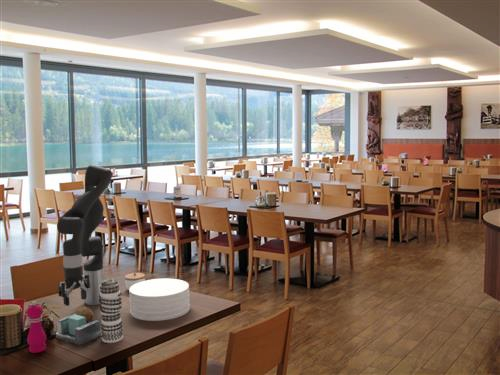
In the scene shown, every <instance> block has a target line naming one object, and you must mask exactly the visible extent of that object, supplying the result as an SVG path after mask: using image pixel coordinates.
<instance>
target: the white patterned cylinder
mask: <svg viewBox="0 0 500 375" xmlns="http://www.w3.org/2000/svg"><path fill="white" fill-rule="evenodd" d="M99 286H100V294H99V296H98V297H99V302H100V304H98V305H99V311H100V314H101V322H100V330H101V341H102V342H103V343H109V344H111V343H118V342H120V341H122V340H123V338H124V336H123V328H122V327H123V322H122V317H121V312H122V307H123V306H121V304H122V297H121V296H122V292H121V291H120V282H119V281H118V280H117V279H116V278H115V279H114V278H107V279H104V281H102V283H101V284H100V285H99Z"/></svg>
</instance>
